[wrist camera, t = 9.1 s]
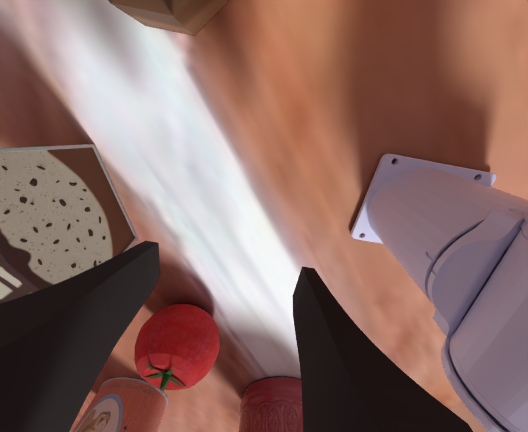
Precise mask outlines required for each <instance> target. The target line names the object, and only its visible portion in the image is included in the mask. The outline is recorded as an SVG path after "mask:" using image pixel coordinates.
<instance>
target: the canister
mask: <svg viewBox="0 0 528 432" xmlns="http://www.w3.org/2000/svg"><path fill="white" fill-rule="evenodd" d="M240 407H241V409H240V426H239V432H303V409H302V386H301V380H299V379H295V378H288V377H272V378H266V379H262V380H259V381H257V382H255V383H253V384H251V385H250V386H249V387H248V388H247V389H246V390H245V392H244V395H243V399H242V401H241V406H240Z"/></svg>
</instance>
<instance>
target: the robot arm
mask: <svg viewBox="0 0 528 432" xmlns="http://www.w3.org/2000/svg"><path fill="white" fill-rule="evenodd" d="M394 158H396V161H395V163H393V164H392V163H391V162H392V160H393V159H394ZM476 175H477V177H476V178H475V176H476ZM474 178H475V179H474ZM495 179H496V175H495V174H493V173H490V172H485V171H480V170H475V169H469V168H464V167H459V166H453V165H448V164H443V163H438V162H432V161H427V160H422V159H417V158H411V157H406V156H401V155H395V154H390V153H387V154H384V155H383V156H382V158H381V159H380V162H379V164H378V167H377V169H376V172H375V174H374V177H373V179H372V181H371V184H370V186H369V189H368V191H367V194H366V196H365V198H364V201H363V203H362V206H361V208H360V211H359V213H358V216H357V218H356V220H355V223H354V225H353V228H352V230H351V236H352V237H353V238H354V239H359V240H364V241H370V242H376V243H382V244H384V245H385V246H386V247H387V249H388V250H389V251H390V252H391V253H392V255H393V256H394V257H395V258H396V260H397V261H398V262H399V263H400V264H401V266H402V267H403V268H404V269H405V271H406V272H407V273H408V274H409V276H410V277H411V278H412V279H413V280H414V282H415V283H416V284H417V285H418V287H419V288H420V289H421V290H422V291H423V293H424V294H425V295H426V296H427V298H428V299H429V300H430V301H431V303H432V304H433V306H434V308H435V314H434V316H433V319H434V320H435V322H436V323H437V324H438V326H439V327H440V328H441V330H442V331H443V332H444V334H445V335H446V336H447V338H446V340H445V341H444V343H443V346H442V349H441V359H442V364H443V368H444V370H445V373H446V375H447V378H448V380H449V381H450V383H451V385H452V387H453V389H454V390H455V392H456V393H457V395H458V396H459V398H460V399H461V401H462V402H463V403H464V404H465V406H466V407H467V408H468V409H469V410H470V412H471V413H472V414H473V415H474V417H475V418H476V419H478V421H479V422H480V423H481V424H482V425H483V426H484V427H485V428H486V429H487V430H488V431H489V432H528V200H526V199H523V198H520V197H517V196H514V195H512V194H509V193H506V192H503V191H500V190H498V189H495V188H492V187H491V186H492V184H493V183H494V181H495ZM361 233H364V234H363V235H362V236H359V235H360V234H361ZM159 276H160V265H159V246H158V243H156V242H150V241H144V242H142V243H140V244H138V245H136V246H134V247H132V248H130V249H128V250H126V251H125V252H123V253H121V254H119V255H117V256H115V257H113V258H111V259H109V260H107V261H105V262H103V263H101V264H99V265H97V266H95V267H93V268H90V269H88V270H86V271H84V272H82V273H80V274H78V275H76V276H73V277H71V278H69V279H66V280H64V281H62V282H59V283H57V284H54V285H52V286H49V287H46V288H44V289H41V290H39V291H36V292H33V293H30V294H27V295H24V296H22V297H19V298H16V299H13V300H10V301H7V302H4V303H1V304H0V432H69V431H70V429H71V427H72V425H73V423H74V421H75V419H76V417H77V415H78V413H79V411H80V409H81V407H82V405H83V403H84V401H85V399H86V397H87V395H88V394H89V392H90V390H91V388H92V386H93V384H94V382H95V381H96V379H97V377H98V375H99V373H100V371H101V369H102V368H103V366H104V364H105V362H106V361H107V359H108V357H109V355H110V354H111V352H112V350H113V348H114V347H115V345H116V344H117V342H118V340H119V339H120V337H121V336H122V334H123V333H124V331H125V330H126V329H127V327H128V326H129V324H130V323H131V321H132V320H133V318H134V317H135V316H136V314H137V313H138V311H139V310H140V308H141V307H142V305H143V304H144V302H145V301H146V299H147V298H148V296H149V295H150V293H151V292H152V290H153V288H154V286H155V284H156V282H157V280H158V278H159ZM293 318H294V325H295V333H296V340H297V347H298V354H299V361H300V370H301V386H302V409H303V432H473V431H472V429H471V428H470V426H469V425H468V423H466V422H465V421H464V420H462V419H461V418H460V417H458V416H457V415H456V414H455V413H453V412H452V411H451V410H449V409H448V408H447V407H446V406H444V405H443V404H442V403H440V402H439V401H438V400H436V399H435V398H434V397H433V396H431V395H430V394H429V393H428V392H426V391H425V390H424V389H423V388H422V387H420V386H419V385H418V384H417V383H416V382H415V381H413V380H412V379H411V378H410V377H409V376H407V375H406V374H405V373H404V372H403V371H402V370H401V369H400V368H398V367H397V366H396V365H395V364H394V363H393V362H392V361H391V360H390V359H389V358H388V357H387V356H386V355H385V354H384V353H382V352H381V351H380V350H379V349H378V348H377V347H376V346H375V345H374V344H373V343H372V342H371V340H370V339H369V338H368V337H367V336H366V335H365V334H364V333H363V332H362V331H361V330H360V329H359V328H358V326H357V325H356V324H355V323H354V322H353V321H352V319H351V318H350V317H349V316H348V314H347V313H346V312H345V311H344V310H343V308H342V307H341V306H340V304H339V303H338V302H337V300H336V299H335V298H334V296H333V295H332V294H331V292H330V291H329V289H328V288H327V286H326V285H325V284H324V282H323V281H322V279H321V278H320V276H319V275H318V273H317V272H316V270H315V269H314V268H308V267H302V269H301V272H300V275H299V278H298V282H297V285H296V288H295V291H294V294H293Z"/></svg>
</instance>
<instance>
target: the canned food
mask: <svg viewBox="0 0 528 432" xmlns="http://www.w3.org/2000/svg"><path fill="white" fill-rule="evenodd" d="M167 405H168V398H167V396H166V394H165V393H164V392H163V391H162V390H160V388H158V387H156V386H154V385H152V384H150V383H149V382H146V381H143V380H140V379H136V378H129V377H116V378H111V379H108V380H106V381H105V382H103V383H102V385H101V386H100V389H99V391H98V392H97V394H96V395H95V397H94V399H93V400H92V402H91V403H90V405H89V407H88V408H87V410H86V411H85V413H84V415H83V416H82V418H81V419H80V421H79V423H78V424H77V426H76V427H75V429H74V431H73V432H157V431H158V428H159V425H160V422H161V420H162V417H163V414H164V411H165V409H166V407H167Z"/></svg>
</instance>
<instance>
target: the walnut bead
mask: <svg viewBox="0 0 528 432" xmlns="http://www.w3.org/2000/svg"><path fill="white" fill-rule="evenodd" d="M108 1H109V2H110V3H111V4H113V5H114V6H116V7H117V8H119V9H120V10H122V11H123V12H125V13H127V14H128V15H130V16H131V17H133V18H134V19H136V20H137V21H139V22H140V23H142V24H143V25H145V26H149V27H154V28H159V29H164V30H169V31H173V32H178V33H183V34H188V35H193V36H195V35H196V34H197V33H198V32H199V31H200V30H201V29H202V28H203V27H204V26H205V25H206V24H207V23H208V22H209V21H210V20H211V19H212V18H213V17H214V16H215V15H216V13H217V12H218V11H219V10H220V9H221V8H222V7H223V6H224V5H225V4H226V3H227V2H228V1H229V0H108Z"/></svg>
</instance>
